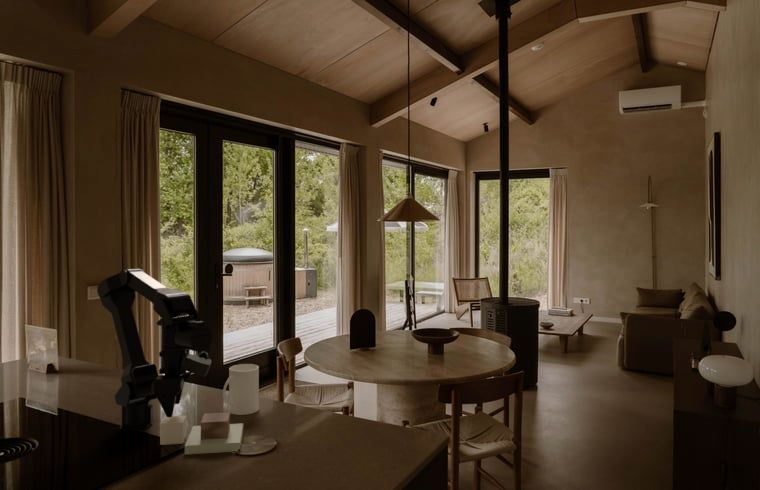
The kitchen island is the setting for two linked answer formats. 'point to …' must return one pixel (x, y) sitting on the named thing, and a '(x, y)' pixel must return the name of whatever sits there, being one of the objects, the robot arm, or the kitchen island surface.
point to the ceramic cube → (173, 430)
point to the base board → (214, 441)
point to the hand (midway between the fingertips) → (173, 410)
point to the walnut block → (215, 425)
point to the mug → (243, 389)
